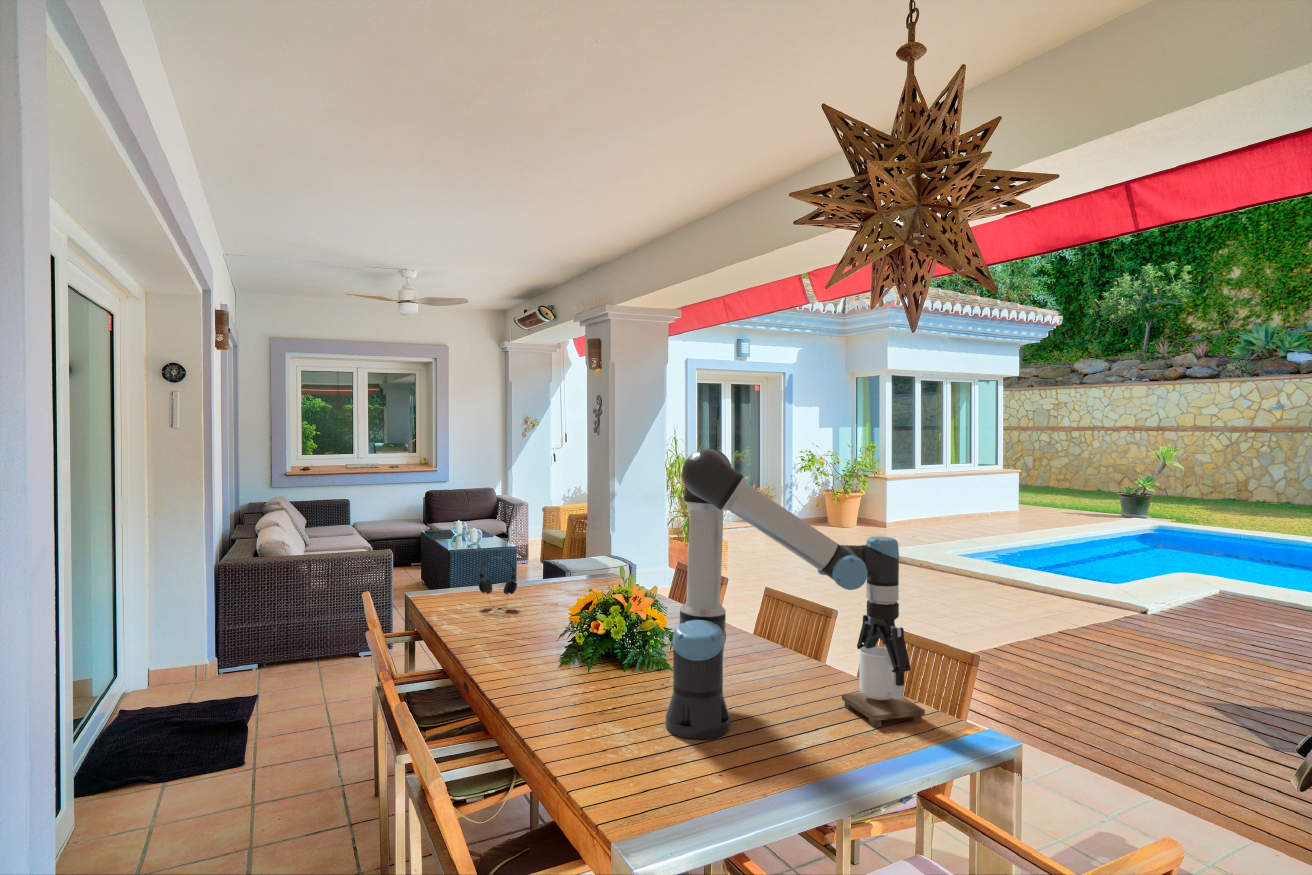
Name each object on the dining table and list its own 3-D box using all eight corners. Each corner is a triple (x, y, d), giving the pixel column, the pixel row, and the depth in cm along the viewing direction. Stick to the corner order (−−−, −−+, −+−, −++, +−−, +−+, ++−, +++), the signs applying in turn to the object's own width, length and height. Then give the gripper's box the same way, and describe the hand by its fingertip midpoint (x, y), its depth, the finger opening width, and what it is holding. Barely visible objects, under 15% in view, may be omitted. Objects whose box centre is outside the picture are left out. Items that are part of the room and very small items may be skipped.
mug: (888, 707, 167) (888, 662, 167) (852, 691, 178) (852, 648, 178) (914, 701, 171) (914, 657, 171) (877, 686, 182) (877, 644, 182)
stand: (873, 728, 166) (873, 715, 166) (841, 706, 180) (841, 694, 180) (924, 722, 170) (924, 709, 170) (890, 700, 183) (890, 689, 183)
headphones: (471, 612, 272) (471, 560, 272) (482, 605, 284) (483, 555, 283) (508, 614, 270) (508, 561, 270) (519, 606, 281) (519, 556, 281)
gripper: (927, 611, 164) (926, 705, 164) (868, 589, 187) (868, 671, 187) (898, 613, 162) (898, 708, 162) (843, 591, 185) (843, 674, 185)
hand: (882, 688), depth 175 cm, fingers closed on mug, 12 cm apart
